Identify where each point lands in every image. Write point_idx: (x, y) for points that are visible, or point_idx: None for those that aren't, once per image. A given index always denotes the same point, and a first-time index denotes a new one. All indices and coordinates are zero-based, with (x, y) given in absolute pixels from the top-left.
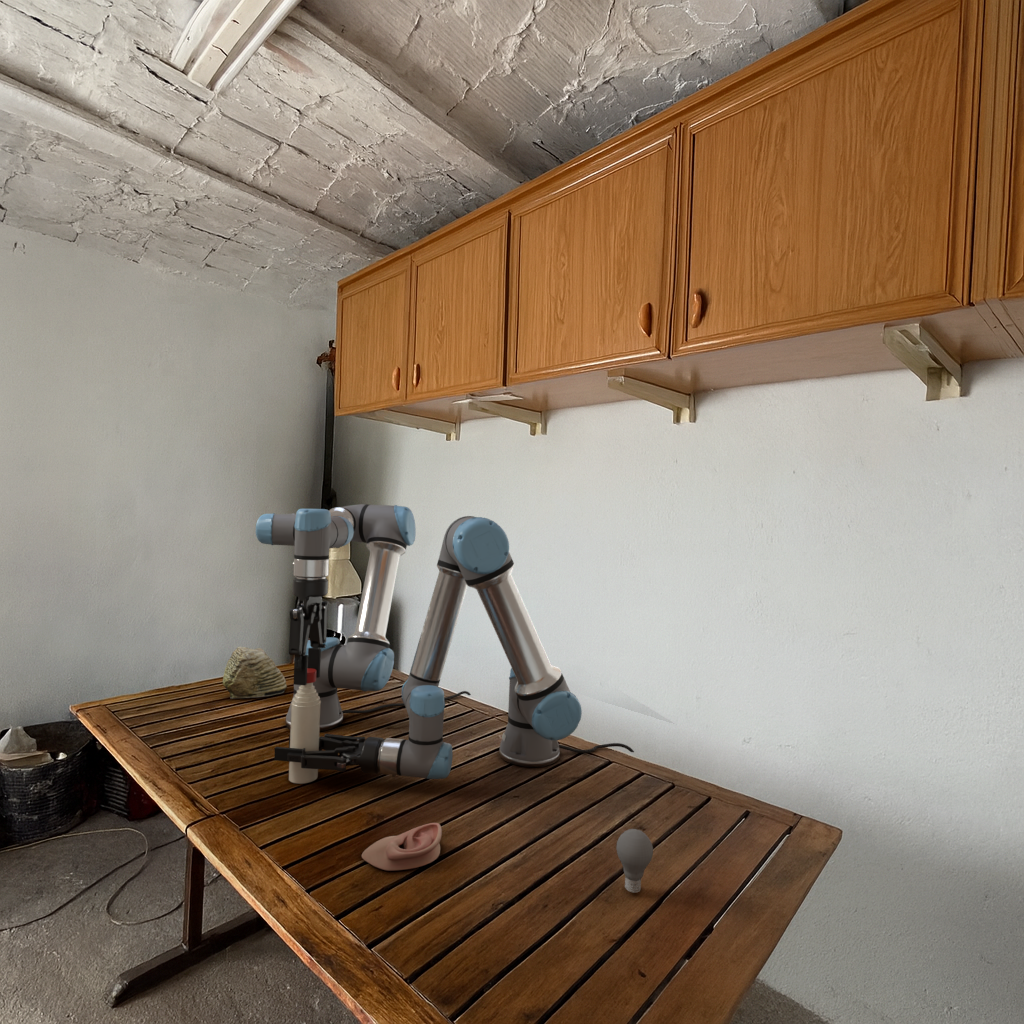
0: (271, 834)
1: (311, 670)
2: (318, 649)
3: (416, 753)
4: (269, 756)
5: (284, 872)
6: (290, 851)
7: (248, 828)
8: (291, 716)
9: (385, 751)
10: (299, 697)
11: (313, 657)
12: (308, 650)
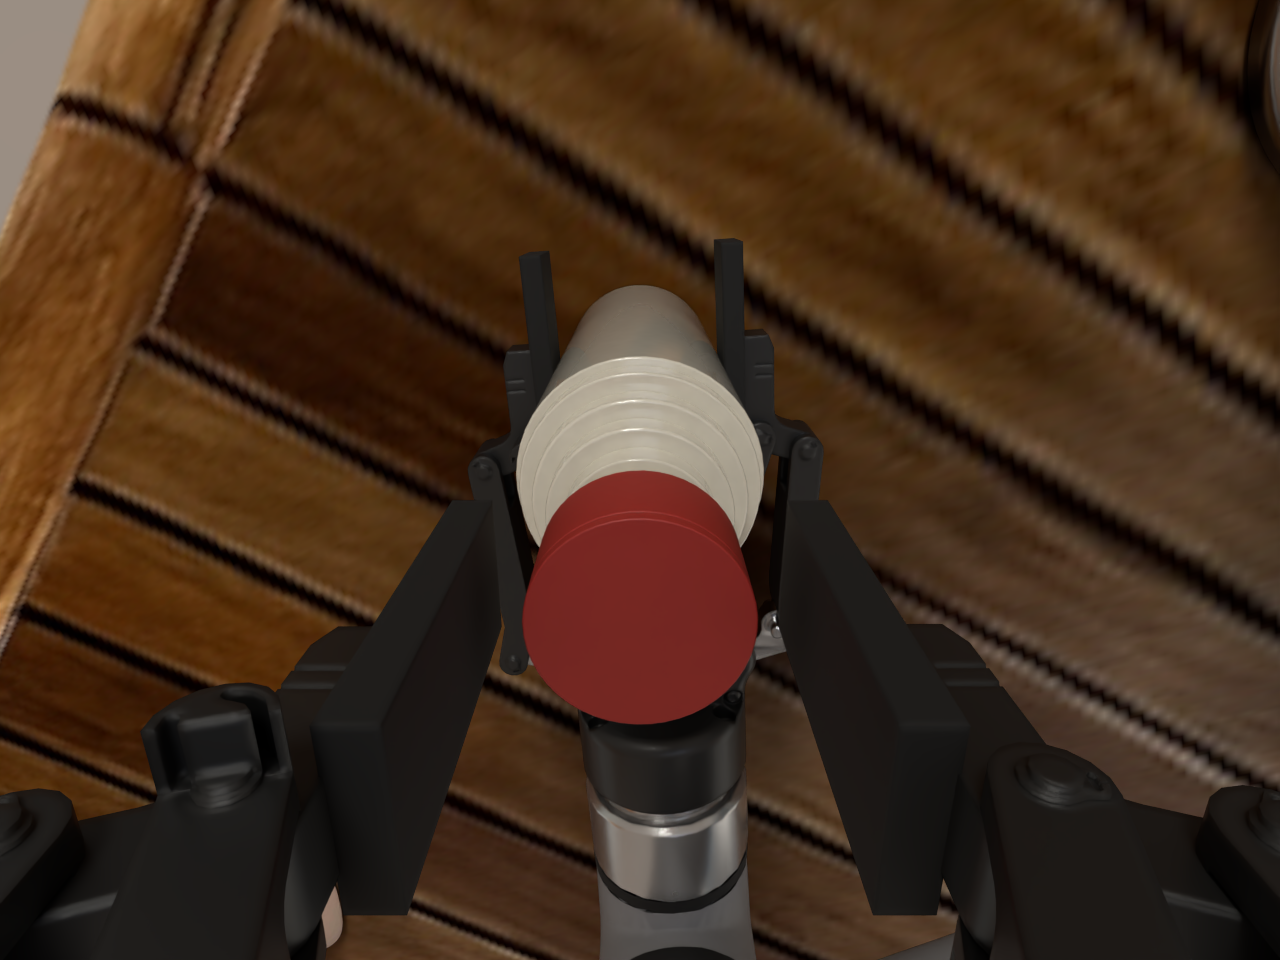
0: (164, 473)
1: (663, 667)
2: (875, 899)
3: (602, 951)
4: (848, 29)
5: (3, 623)
6: (106, 586)
7: (159, 368)
8: (560, 370)
9: (601, 830)
10: (534, 489)
11: (841, 715)
12: (887, 703)
